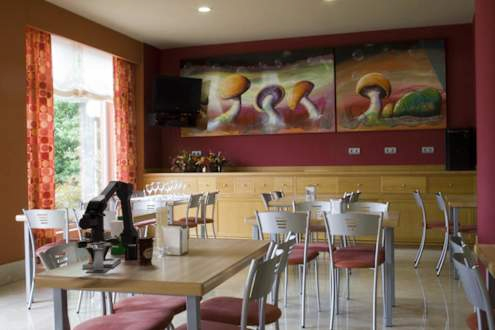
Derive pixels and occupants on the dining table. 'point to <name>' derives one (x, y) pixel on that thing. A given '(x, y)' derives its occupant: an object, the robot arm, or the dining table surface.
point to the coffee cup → (145, 250)
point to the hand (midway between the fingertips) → (98, 261)
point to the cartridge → (98, 258)
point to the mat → (98, 270)
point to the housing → (107, 263)
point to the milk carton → (117, 235)
